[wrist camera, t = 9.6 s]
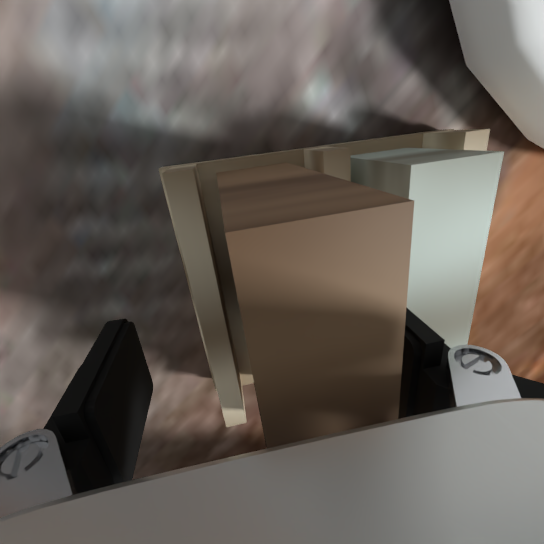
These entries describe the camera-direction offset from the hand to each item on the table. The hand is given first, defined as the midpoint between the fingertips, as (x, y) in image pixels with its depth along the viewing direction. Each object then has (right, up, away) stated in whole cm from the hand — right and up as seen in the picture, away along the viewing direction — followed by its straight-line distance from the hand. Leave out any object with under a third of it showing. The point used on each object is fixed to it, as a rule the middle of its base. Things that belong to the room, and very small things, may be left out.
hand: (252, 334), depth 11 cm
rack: (+3, +2, +5) cm, 7 cm away
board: (+1, +2, +4) cm, 4 cm away
